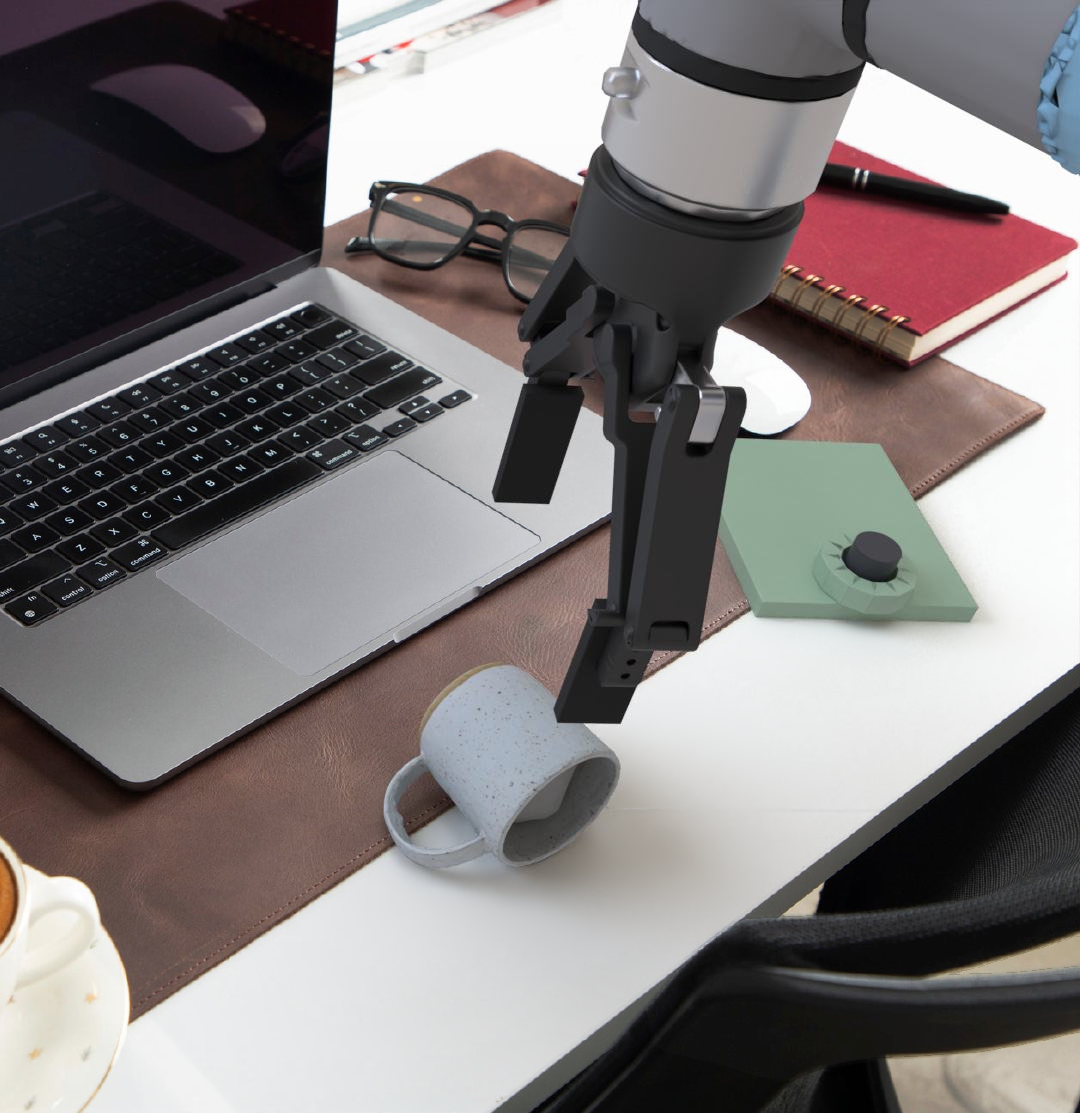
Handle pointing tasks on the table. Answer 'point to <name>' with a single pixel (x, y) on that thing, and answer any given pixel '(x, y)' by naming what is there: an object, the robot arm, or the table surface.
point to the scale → (831, 535)
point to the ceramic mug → (506, 769)
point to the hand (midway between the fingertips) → (550, 600)
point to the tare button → (873, 556)
